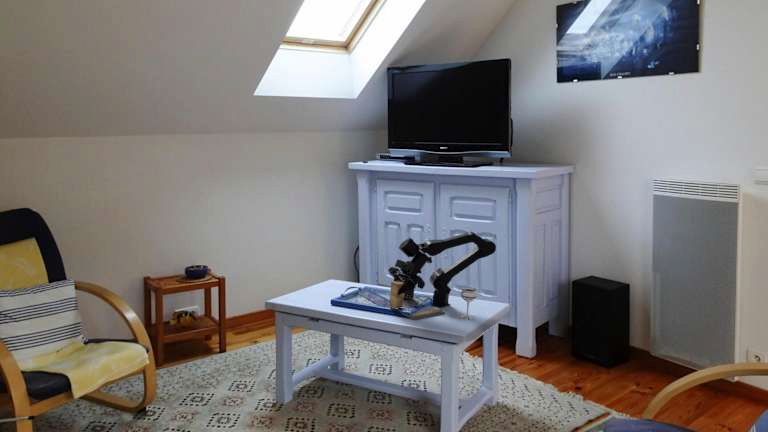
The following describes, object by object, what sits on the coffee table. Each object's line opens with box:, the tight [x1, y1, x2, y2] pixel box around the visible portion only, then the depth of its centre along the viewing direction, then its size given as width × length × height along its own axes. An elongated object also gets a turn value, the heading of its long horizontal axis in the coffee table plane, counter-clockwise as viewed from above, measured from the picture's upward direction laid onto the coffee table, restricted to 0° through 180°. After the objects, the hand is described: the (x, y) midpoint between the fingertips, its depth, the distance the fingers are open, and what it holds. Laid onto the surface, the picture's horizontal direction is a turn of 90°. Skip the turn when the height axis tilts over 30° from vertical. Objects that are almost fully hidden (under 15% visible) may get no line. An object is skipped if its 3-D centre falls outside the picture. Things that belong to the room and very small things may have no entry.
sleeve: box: [389, 280, 405, 310], centre depth 282 cm, size 4×4×11 cm
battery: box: [402, 278, 416, 301], centre depth 297 cm, size 7×4×11 cm, turn 70°
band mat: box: [401, 305, 446, 321], centre depth 279 cm, size 17×11×2 cm, turn 129°
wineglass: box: [460, 286, 478, 320], centre depth 277 cm, size 7×7×12 cm
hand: (394, 292), depth 281 cm, fingers closed on sleeve, 4 cm apart
